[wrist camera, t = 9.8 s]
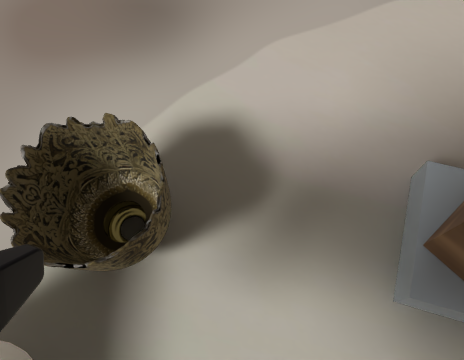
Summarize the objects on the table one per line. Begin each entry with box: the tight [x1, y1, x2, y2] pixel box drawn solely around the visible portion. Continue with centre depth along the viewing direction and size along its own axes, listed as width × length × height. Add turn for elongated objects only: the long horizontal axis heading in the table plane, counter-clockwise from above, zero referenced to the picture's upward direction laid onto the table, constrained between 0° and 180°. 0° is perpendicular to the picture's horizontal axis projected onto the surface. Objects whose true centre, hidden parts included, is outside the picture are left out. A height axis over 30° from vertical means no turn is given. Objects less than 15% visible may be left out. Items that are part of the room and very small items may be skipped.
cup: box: [0, 113, 171, 271], centre depth 21 cm, size 8×7×8 cm
